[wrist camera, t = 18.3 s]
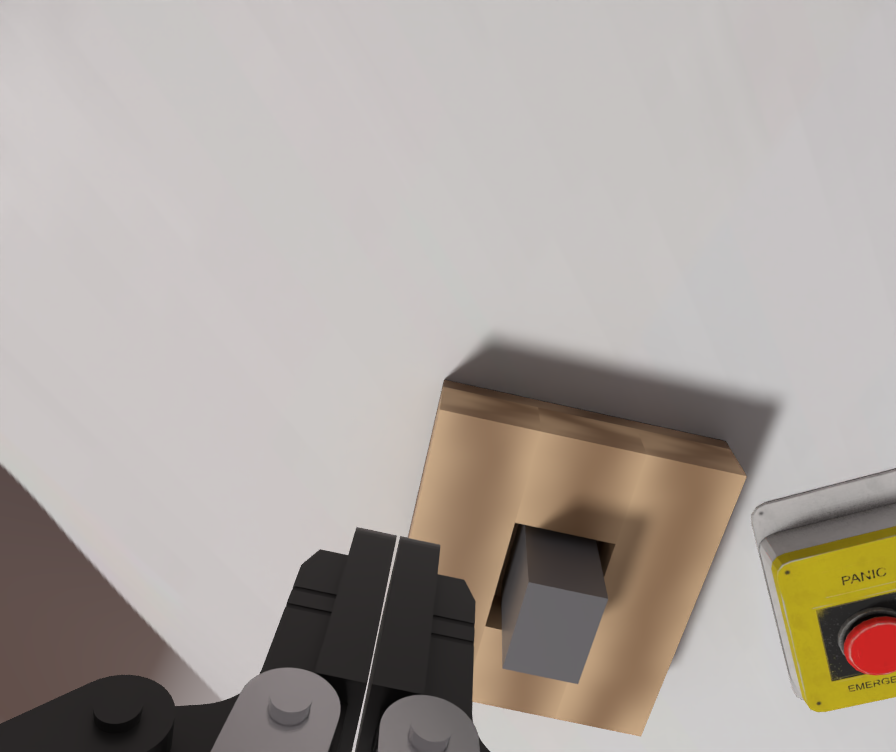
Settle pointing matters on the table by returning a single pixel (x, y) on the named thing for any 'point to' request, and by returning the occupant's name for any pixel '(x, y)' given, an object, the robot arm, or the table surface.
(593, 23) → the table surface
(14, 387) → the table surface
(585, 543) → the plug
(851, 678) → the emergency button
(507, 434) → the socket block
